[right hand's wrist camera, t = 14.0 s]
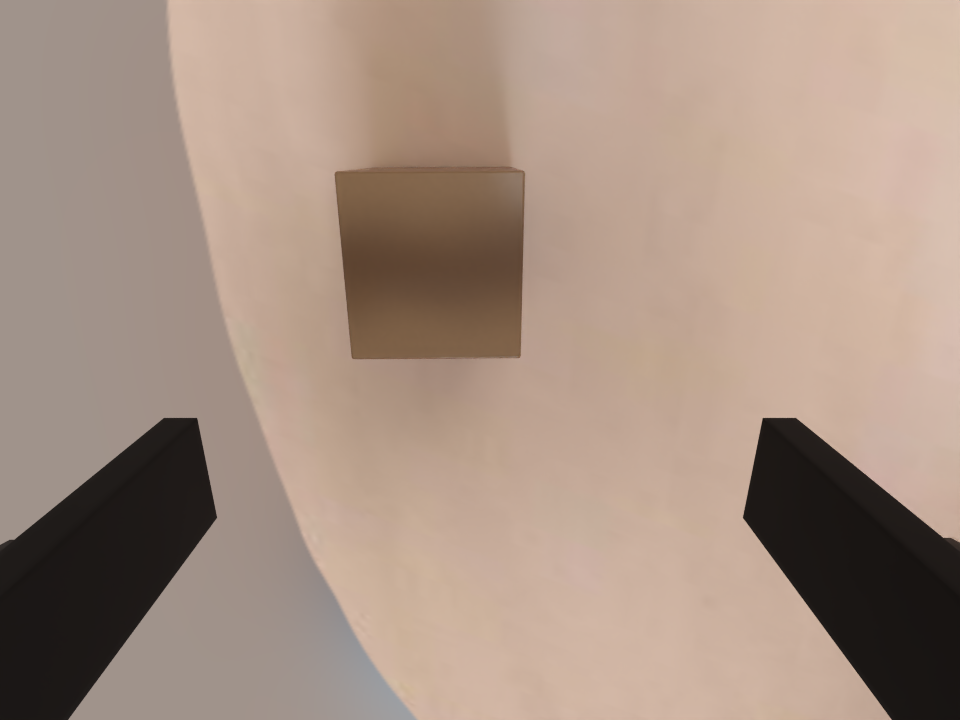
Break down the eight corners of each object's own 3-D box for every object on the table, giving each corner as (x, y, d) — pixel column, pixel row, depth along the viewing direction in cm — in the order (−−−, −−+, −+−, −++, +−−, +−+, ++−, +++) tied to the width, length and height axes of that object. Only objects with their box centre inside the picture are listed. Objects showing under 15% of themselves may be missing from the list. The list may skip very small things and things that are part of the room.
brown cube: (510, 311, 28) (520, 358, 22) (380, 312, 28) (351, 359, 22) (512, 167, 26) (524, 170, 19) (370, 167, 26) (333, 171, 19)
